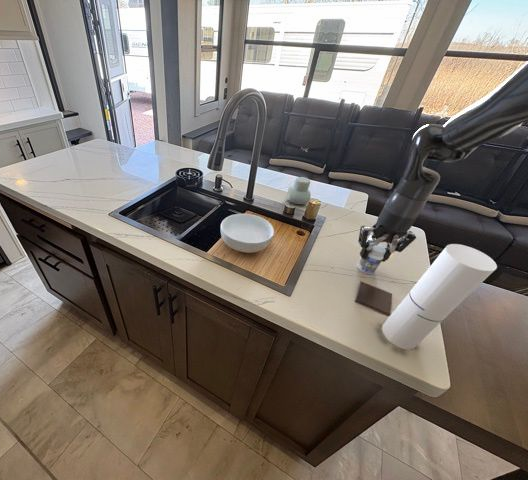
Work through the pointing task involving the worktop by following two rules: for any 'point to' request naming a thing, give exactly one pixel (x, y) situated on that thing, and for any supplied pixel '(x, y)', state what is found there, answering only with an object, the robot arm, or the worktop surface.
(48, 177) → the worktop surface
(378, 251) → the pill bottle
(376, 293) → the plate
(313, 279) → the worktop surface
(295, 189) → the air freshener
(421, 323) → the cylindrical container
